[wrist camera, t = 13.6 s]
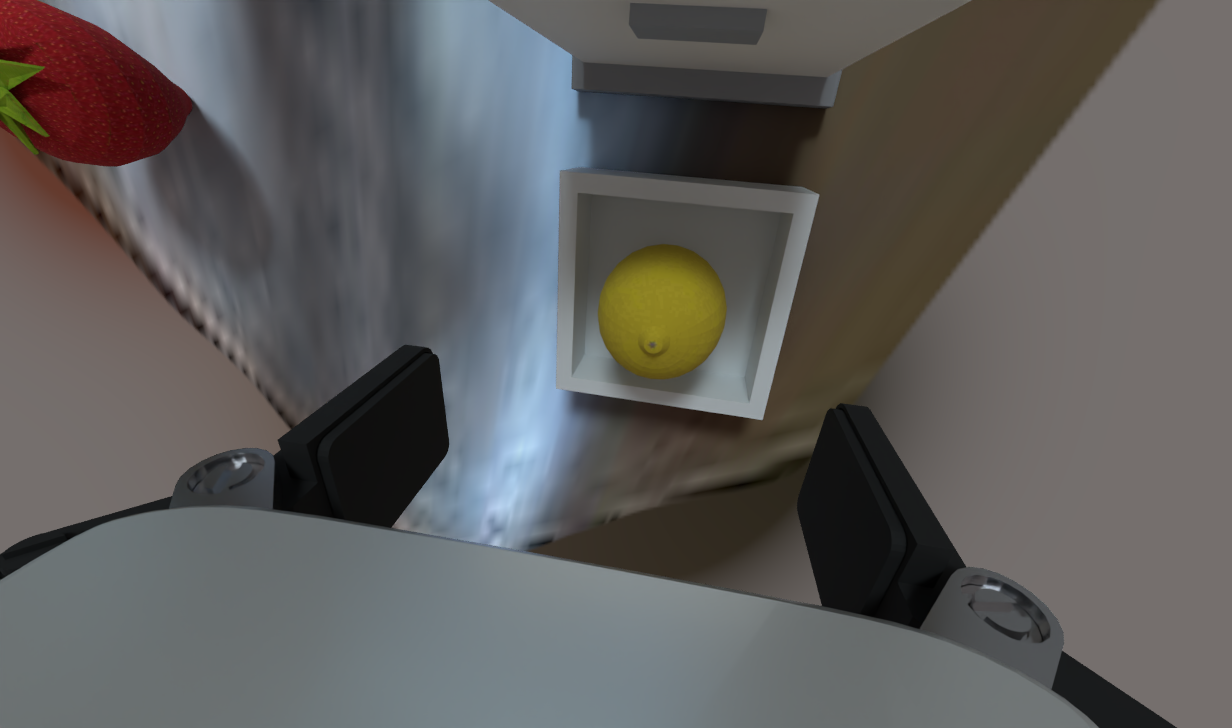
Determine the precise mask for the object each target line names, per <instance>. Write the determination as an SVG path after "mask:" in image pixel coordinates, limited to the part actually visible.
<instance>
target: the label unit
mask: <svg viewBox="0 0 1232 728" xmlns="http://www.w3.org/2000/svg"><path fill="white" fill-rule="evenodd" d="M489 1H490V2H492V3H493V4H495V5H496V6H498V7H500V8H501V9H503V10H504V11H506V12H507V13H509V14H510V15H512V16H513V17H515V18H516V19H518V20H520V21H521V22H523V23H524V24H526V25H527V26H529V27H530V28H532V29H533V30H535V31H536V32H538V33H539V34H541V35H543V36H544V37H546V38H547V39H549V40H550V41H552V42H553V43H555V44H556V45H558V46H559V47H561V48H563V49H564V50H566V51H567V52H569V53H570V54H572V89H574V90H576V91H582V92H596V93H610V94H625V95H639V96H653V97H668V98H682V99H696V100H711V101H725V102H739V103H754V104H768V105H782V106H797V107H811V108H825V109H827V108H830V107H833V105H834V101H835V97H836V93H837V89H838V84H839V80H840V76H841V72H842V69H844V68H845V67H847V66H849V65H851V64H853V63H855V62H857V61H859V60H860V59H862V58H864V57H866V56H868V55H870V54H872V53H874V52H875V51H877V50H879V49H881V48H883V47H885V46H887V45H889V44H891V43H892V42H894V41H896V40H898V39H900V38H902V37H904V36H906V35H907V34H909V33H911V32H913V31H915V30H917V29H919V28H921V27H922V26H924V25H926V24H928V23H930V22H932V21H934V20H936V19H937V18H939V17H941V16H943V15H945V14H947V13H949V12H951V11H952V10H954V9H956V8H958V7H960V6H962V5H964V4H966V3H967V2H969V1H971V0H489Z"/></svg>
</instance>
